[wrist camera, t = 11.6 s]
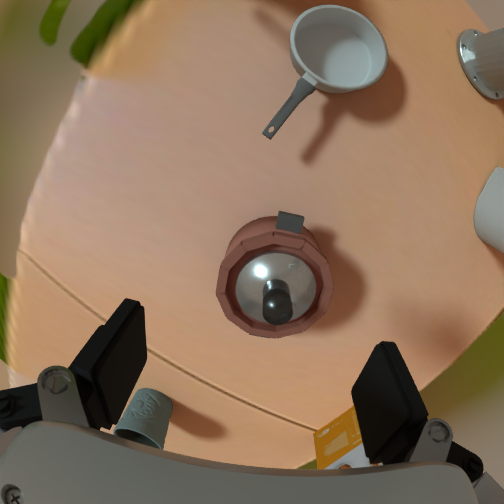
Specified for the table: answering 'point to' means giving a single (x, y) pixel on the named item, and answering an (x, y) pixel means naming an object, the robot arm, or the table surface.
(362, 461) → the cereal box
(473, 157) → the table surface
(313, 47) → the saucepan
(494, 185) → the toilet tissue
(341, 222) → the table surface
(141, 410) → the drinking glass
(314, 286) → the lid
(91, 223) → the table surface
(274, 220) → the pot
